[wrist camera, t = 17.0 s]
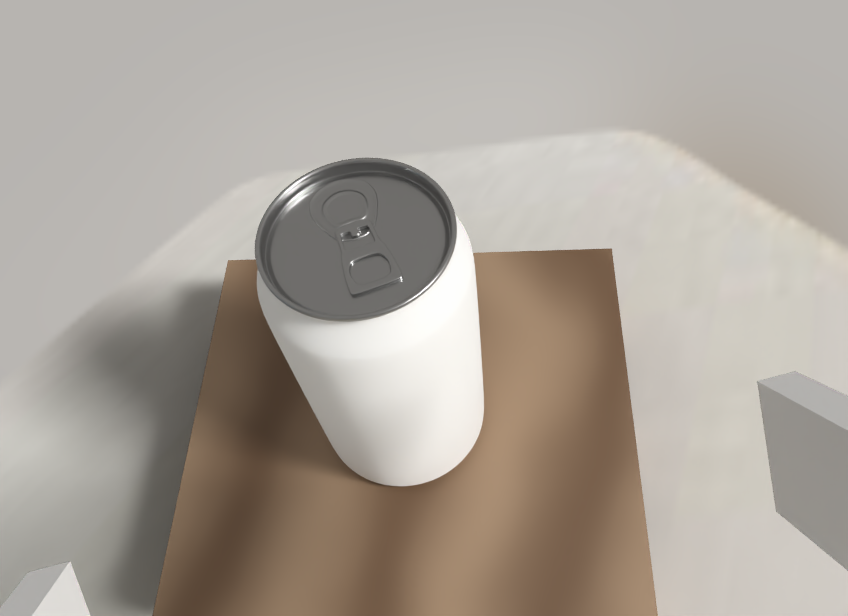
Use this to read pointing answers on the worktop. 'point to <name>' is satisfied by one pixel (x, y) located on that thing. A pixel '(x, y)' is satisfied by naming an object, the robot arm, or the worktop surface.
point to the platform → (432, 501)
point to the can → (377, 315)
